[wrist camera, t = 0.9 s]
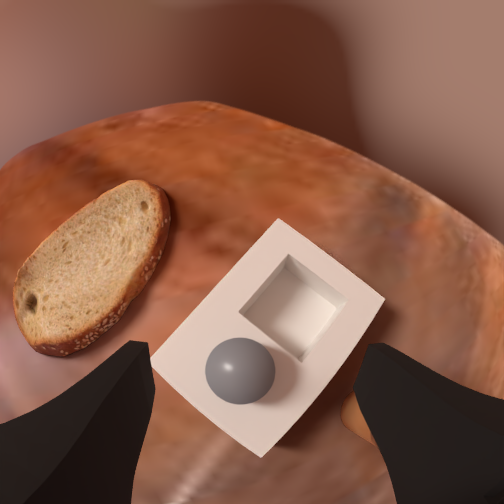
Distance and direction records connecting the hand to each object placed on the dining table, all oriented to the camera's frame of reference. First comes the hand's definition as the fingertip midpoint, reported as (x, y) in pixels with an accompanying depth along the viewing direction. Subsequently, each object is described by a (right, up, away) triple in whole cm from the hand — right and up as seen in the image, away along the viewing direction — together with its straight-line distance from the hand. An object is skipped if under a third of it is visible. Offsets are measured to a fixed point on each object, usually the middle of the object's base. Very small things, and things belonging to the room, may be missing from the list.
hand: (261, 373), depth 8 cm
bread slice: (-17, +2, +15) cm, 23 cm away
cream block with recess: (+1, -3, +12) cm, 13 cm away
